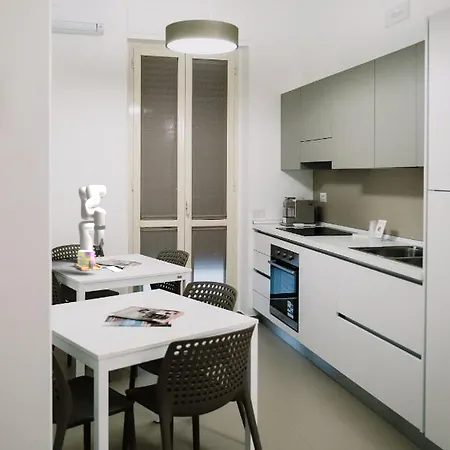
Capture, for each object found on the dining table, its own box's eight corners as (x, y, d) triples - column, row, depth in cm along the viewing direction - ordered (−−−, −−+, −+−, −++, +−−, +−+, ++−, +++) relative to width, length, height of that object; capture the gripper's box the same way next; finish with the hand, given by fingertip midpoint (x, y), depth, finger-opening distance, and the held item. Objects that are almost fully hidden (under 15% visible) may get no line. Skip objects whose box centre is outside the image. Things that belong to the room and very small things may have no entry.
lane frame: (74, 266, 424) (74, 258, 423) (93, 265, 430) (93, 256, 430) (81, 270, 406) (81, 261, 406) (101, 269, 413) (101, 260, 412)
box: (94, 266, 423) (94, 250, 422) (91, 268, 418) (91, 251, 416) (81, 266, 425) (81, 249, 424) (77, 267, 420) (77, 250, 419)
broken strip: (105, 267, 421) (105, 266, 421) (114, 267, 424) (114, 266, 424) (114, 271, 403) (114, 271, 403) (122, 271, 406) (122, 270, 406)
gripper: (90, 227, 395) (91, 254, 396) (97, 229, 381) (97, 257, 383) (101, 227, 398) (102, 254, 399) (108, 228, 385) (108, 256, 386)
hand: (99, 255), depth 391 cm, fingers closed
